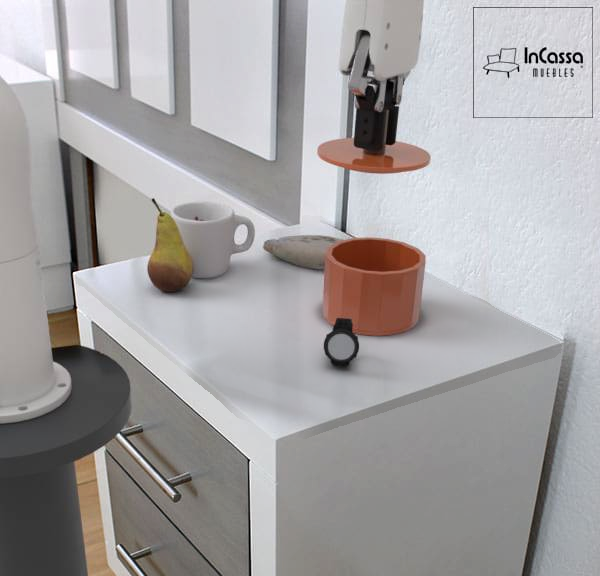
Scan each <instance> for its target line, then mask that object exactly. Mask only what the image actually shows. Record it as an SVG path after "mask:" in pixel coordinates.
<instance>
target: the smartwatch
mask: <svg viewBox="0 0 600 576" xmlns="http://www.w3.org/2000/svg"><path fill="white" fill-rule="evenodd" d="M352 328H353V323H352V319H345V318H337V319H336V322H335V324H334V326H332V330H331V331H330V332H329V333H327V334H326V335H325V338H324V340H323V351H324V354H325V356H326V357H327V358H328V359H329V360H330V364H331V366H336V367H349V366H350V363H351V362H352V361H353V360H354V359H355V358H357V355H358V353H359V351H360V342H359V337H358V335H356V333H353V330H352Z"/></svg>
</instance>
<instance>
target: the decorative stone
mask: <svg viewBox="0 0 600 576" xmlns="http://www.w3.org/2000/svg"><path fill="white" fill-rule="evenodd" d="M342 240H344V239H343V238H337V237H334V236H330V235H321V234H302V235H301V234H300V235H290V236H288V235H287V236H282V237H278V238H277V239H276V238H272V239H271V238H270V239H266V240H265V241H264V242H263V246H262V248H263V250H264V251H265V252H267V253H269V254H271V255H274V256H275V257H277V258H279V259H282V260H283V261H285V262H288V263H290V264H293V265H296V266H298V267H302V268H307V269H314V270H321V271H325V255H326V251H327V248H328V247H329V246H331V245H332V244H334V243H336V242H338V241H342Z"/></svg>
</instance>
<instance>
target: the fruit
mask: <svg viewBox="0 0 600 576" xmlns="http://www.w3.org/2000/svg"><path fill="white" fill-rule="evenodd" d="M151 202H152V204H154V206H155V207H156V209H157V210H158V212H159V214H158V215H157V220H156V221H157V222H156V229H155V243H154V248H153V251H152V252H151V254H150V256H149V259H148V262H147V266H146V267H147V268H146V269H147V270H146V271H147V275H148V278H149V280H150V282H151V283H152V285H153V286H154V287H155V288H156V289H157V290H159V291H161V292H176V291H180V290H182V289H184V288H185V287H186V286H187V285H188V284H190V281H191V280H192V278H193V277H192V274H193V269H194V264H193V261H192V258H191V256H190V254H189V253H188V251H187V250H186V248H185V245H184V243H183V240H182V237H181V234H180V232H179V229H178V227H177V224H176V223H175V221H174V219H173V218H172V217H171V214H169V213H168V212H166V211H162V209H161V208H160V206H159V204H158V202H157V201H156V199H155V198H153V197H152V198H151Z"/></svg>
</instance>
